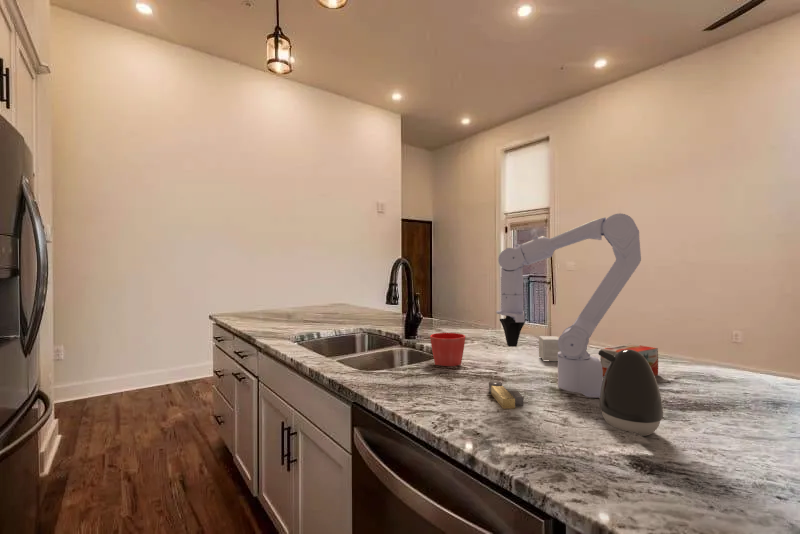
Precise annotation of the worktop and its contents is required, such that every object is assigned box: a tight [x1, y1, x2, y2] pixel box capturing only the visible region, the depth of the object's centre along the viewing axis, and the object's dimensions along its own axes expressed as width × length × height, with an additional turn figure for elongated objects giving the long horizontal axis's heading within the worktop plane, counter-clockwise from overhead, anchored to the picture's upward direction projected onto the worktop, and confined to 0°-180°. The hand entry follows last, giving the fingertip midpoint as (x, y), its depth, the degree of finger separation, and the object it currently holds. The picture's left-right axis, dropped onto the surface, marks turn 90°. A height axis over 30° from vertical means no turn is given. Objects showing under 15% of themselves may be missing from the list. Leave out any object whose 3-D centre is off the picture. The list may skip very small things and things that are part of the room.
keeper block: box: [507, 390, 524, 407], centre depth 81 cm, size 2×4×2 cm, turn 179°
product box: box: [538, 335, 560, 361], centre depth 125 cm, size 6×6×7 cm
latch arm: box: [488, 380, 516, 410], centre depth 84 cm, size 12×3×2 cm, turn 2°
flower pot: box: [429, 332, 466, 367], centre depth 116 cm, size 11×11×10 cm
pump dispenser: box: [598, 349, 664, 437], centre depth 71 cm, size 10×10×15 cm
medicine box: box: [599, 343, 659, 377], centre depth 106 cm, size 15×8×8 cm, turn 120°
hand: (512, 346), depth 99 cm, fingers closed
